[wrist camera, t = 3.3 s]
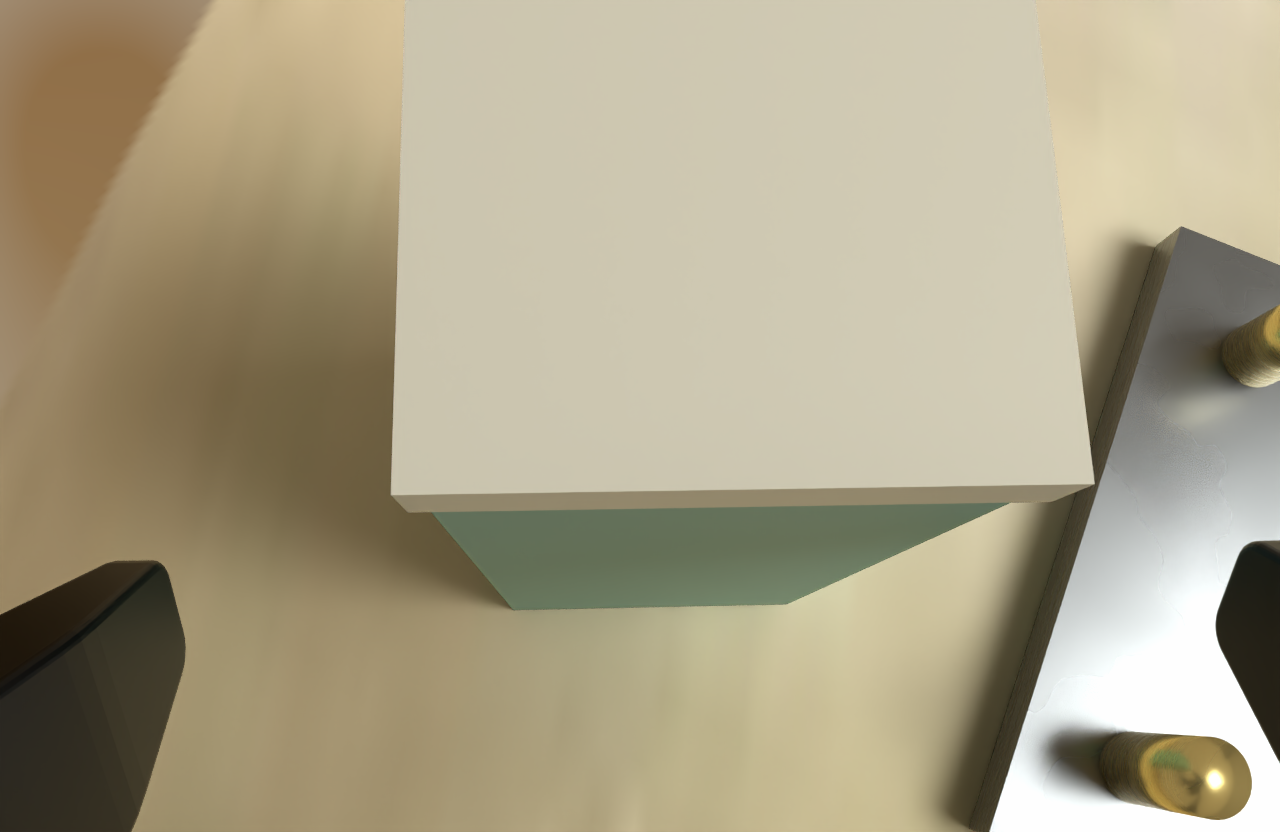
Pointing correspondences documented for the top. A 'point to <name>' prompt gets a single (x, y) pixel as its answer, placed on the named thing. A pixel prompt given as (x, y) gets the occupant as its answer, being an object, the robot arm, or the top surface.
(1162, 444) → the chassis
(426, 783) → the top surface
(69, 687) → the robot arm
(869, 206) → the tea tin
